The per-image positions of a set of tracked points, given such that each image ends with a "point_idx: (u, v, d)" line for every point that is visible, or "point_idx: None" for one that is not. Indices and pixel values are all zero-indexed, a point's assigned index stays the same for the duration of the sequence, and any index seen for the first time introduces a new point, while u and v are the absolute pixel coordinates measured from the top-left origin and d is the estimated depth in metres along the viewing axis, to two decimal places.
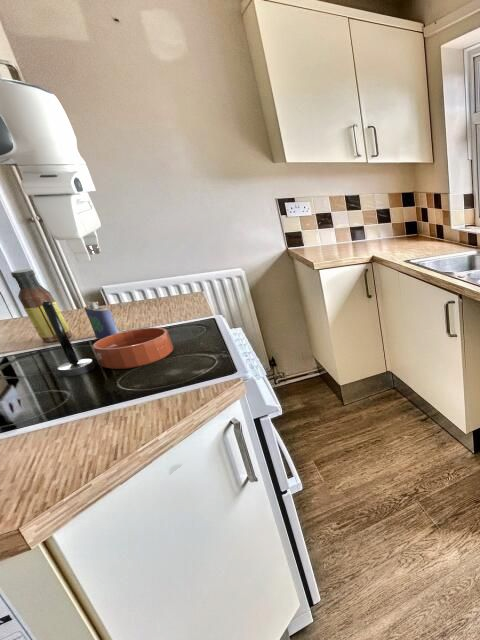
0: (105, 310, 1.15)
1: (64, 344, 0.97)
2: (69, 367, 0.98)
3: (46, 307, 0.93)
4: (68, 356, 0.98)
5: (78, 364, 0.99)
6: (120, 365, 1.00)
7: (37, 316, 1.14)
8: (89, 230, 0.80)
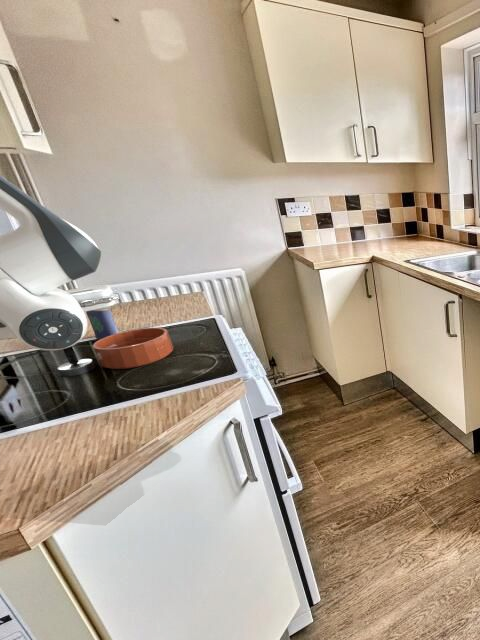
0: (105, 310, 1.15)
1: None
2: (69, 367, 0.98)
3: None
4: (68, 356, 0.98)
5: (78, 364, 0.99)
6: (120, 365, 1.00)
7: None
8: None
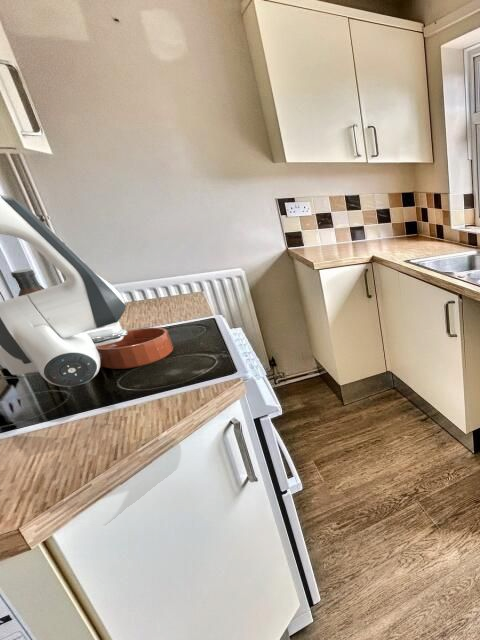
0: None
1: None
2: None
3: None
4: None
5: None
6: (120, 365, 1.00)
7: None
8: None
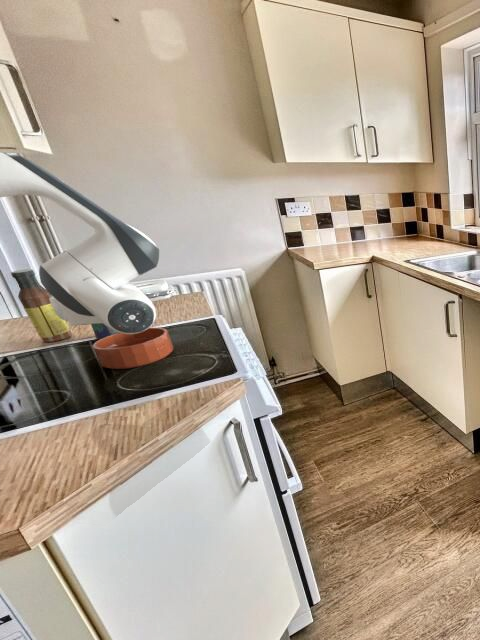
0: None
1: None
2: None
3: None
4: None
5: None
6: (120, 365, 1.00)
7: (37, 316, 1.14)
8: None
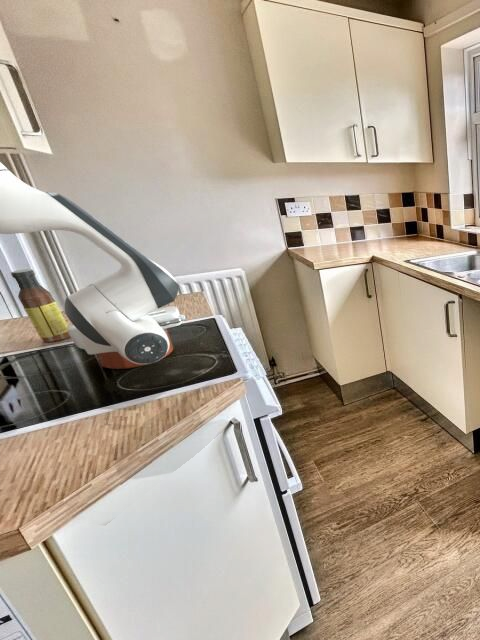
0: None
1: None
2: None
3: None
4: None
5: None
6: (120, 365, 1.00)
7: (37, 316, 1.14)
8: None
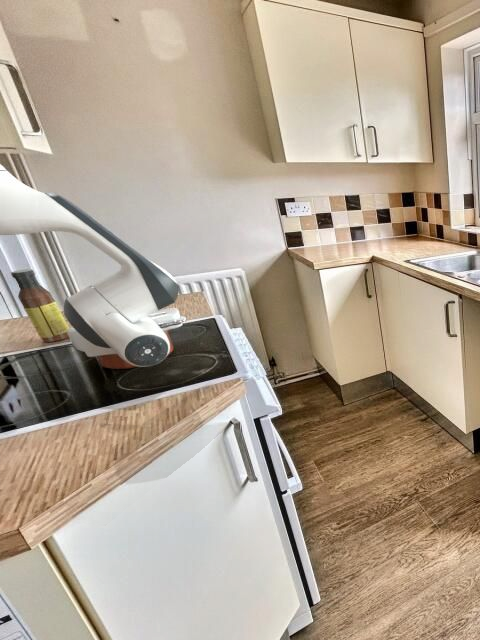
0: None
1: None
2: None
3: None
4: None
5: None
6: (120, 365, 1.00)
7: (37, 316, 1.14)
8: None
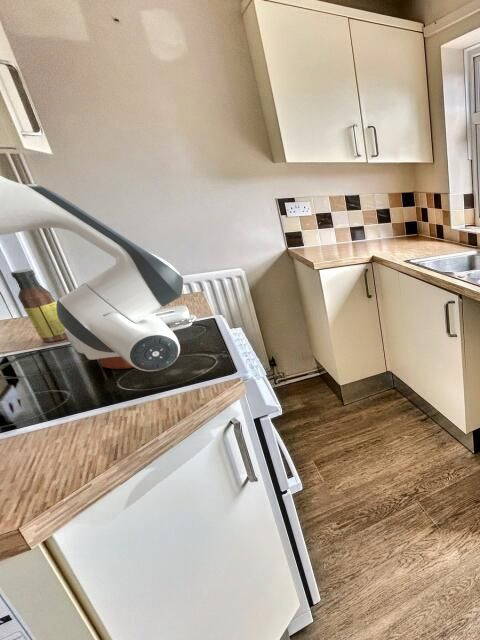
0: None
1: None
2: None
3: None
4: None
5: None
6: (120, 365, 1.00)
7: (37, 316, 1.14)
8: None
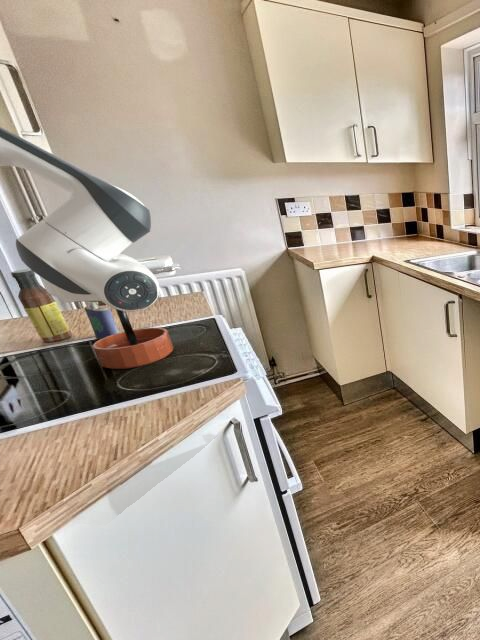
0: (105, 310, 1.15)
1: (127, 330, 1.03)
2: None
3: None
4: (130, 341, 1.04)
5: None
6: (120, 365, 1.00)
7: (37, 316, 1.14)
8: None
